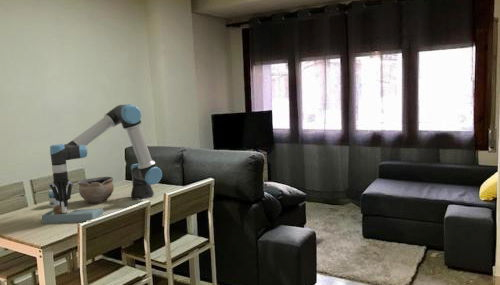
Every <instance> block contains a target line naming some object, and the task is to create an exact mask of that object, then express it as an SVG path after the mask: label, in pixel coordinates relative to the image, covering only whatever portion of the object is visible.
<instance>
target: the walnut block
mask: <svg viewBox="0 0 500 285" xmlns="http://www.w3.org/2000/svg"><path fill="white" fill-rule="evenodd" d="M52 210H54V215H57V214H66V213H68V211H67V212H65V213H62V207H60V205H57V206H55V207H52Z"/></svg>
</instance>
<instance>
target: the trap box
mask: <svg viewBox="0 0 500 285" xmlns="http://www.w3.org/2000/svg"><path fill="white" fill-rule="evenodd" d="M103 215H104V208H88V209H87V208H86V209H83V208H82V209H74V210H72V211H71V212H67V213H66V214H57V215H54V210H53V209H50V210H49V211H47V212H45V213H44V214H42V215H41V223H42V224H56V223H58V224H60V223H79V222H80V223H81V222H82V223H84V222H83V221H87V220H91V219H94V218H97V217H98V218H99V217H101V216H103ZM98 218H97V219H98Z"/></svg>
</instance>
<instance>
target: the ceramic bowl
mask: <svg viewBox="0 0 500 285" xmlns="http://www.w3.org/2000/svg"><path fill="white" fill-rule="evenodd" d="M113 180H114V178H113V177H112V176H100V177H91V178H89V177H88V178H86V179H82V180H79V181H77V184H78V185H79V189H78V191H79V195H80V197H81V198H82V199H83V200H84V201H86V202H88V203H93V204H96V203H103V202H104V201H107V200H108V199H109V198H110V197H111V196H112V194H113V192H114V187H115V186H114V184H113Z"/></svg>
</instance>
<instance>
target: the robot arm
mask: <svg viewBox="0 0 500 285" xmlns="http://www.w3.org/2000/svg"><path fill="white" fill-rule="evenodd" d="M141 119H142V112H141V110H140V108H139V107H138V106H136V105H134V104H130V103H129V104H119V105H117V106H114V108H112V109H111V110H109V111H108V112H107V113H104V115H103V118H102V119H100V120H99V121H97V122H95V123H94V124H93V125H91V126H90V127H89V128H88V129H86V130H84V131H83V132H81V133H80V134H79V135H78V136H76V137H75V138H73V139H72V140H70V141H69V142H68V143H65V144H64V143H58V144H52V145H51V146H50V147H49V155H50V161H51V170H52V178H53V182H52V183H51V184H49V187H50V188H51V190H52V191H53V194H54V196H55V199H56V201H59V202H60V207H62V213H65V212H67V213H68V208H67V207H68V206H69V205H68V203H67V200H68V201H69V200H71V198H72V197H71V195H72V189H73V186H74V182H70V180H69V179H68V178H69V176H68V168H67V161H69V160H77V159H84V158H85V159H86V158H87V157H88V149H87V146H88V145H89V144H91V143H92V142H93V141H94V140H96V139H98V137H100V136H101V135H103V134H105V133H106V132H107V131H108V130H110V129H111V128H115V127H116V126H117V125H120V124H121V126H122V128H123V130H126V132H127V134H128V137H129V138H128V139H129V140H130V144H131V145H132V149H133V152H134V154H135V157H136V159H137V162H138V163H133V164H131V166H130V174H131V180H132V181H131V182H132V187H131V192H130V199H132V200H143V199H144V200H145V199H148V198H147V197H149V198H151V197H150V196H152V195H154V196H155V193H154V189H153V187H152V185H157V184H158V183H160V181H162V180H161V179H162V178H163V172H162V171H163V170H161V168H159V167H158V166H157V163H156V161H155V160H153V159H152V155H151V154H150V149H149V148H148V145H147V142H146V139H145V136H144V133H143V130H142V129H141V124H142V120H141ZM56 188H57V189H56ZM66 188H67V191H66ZM57 190H58V192H57ZM62 193H63V194H62ZM152 197H153V196H152Z"/></svg>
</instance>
